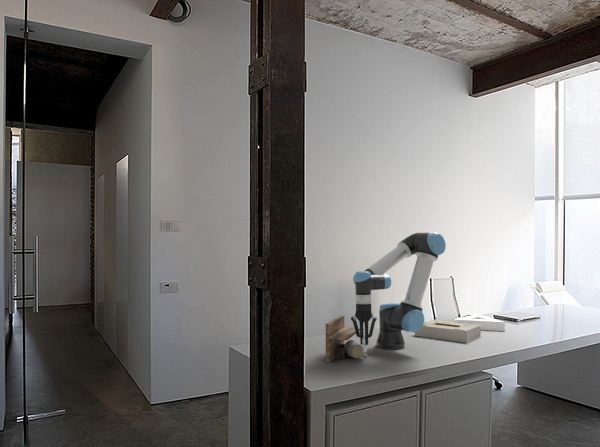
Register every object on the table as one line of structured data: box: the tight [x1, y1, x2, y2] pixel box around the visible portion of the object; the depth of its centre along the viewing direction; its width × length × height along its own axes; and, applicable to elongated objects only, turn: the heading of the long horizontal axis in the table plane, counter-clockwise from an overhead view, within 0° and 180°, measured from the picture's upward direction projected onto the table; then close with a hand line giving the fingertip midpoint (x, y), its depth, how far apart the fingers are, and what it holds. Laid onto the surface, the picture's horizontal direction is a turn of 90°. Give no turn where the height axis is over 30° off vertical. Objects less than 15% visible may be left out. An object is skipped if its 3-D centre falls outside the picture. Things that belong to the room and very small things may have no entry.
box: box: [414, 319, 482, 344], centre depth 287 cm, size 23×8×32 cm
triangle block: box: [453, 313, 506, 332], centre depth 317 cm, size 30×26×6 cm
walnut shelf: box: [325, 314, 360, 363], centre depth 238 cm, size 10×26×18 cm, turn 159°
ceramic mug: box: [344, 339, 368, 359], centre depth 238 cm, size 11×8×8 cm
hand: (364, 351), depth 234 cm, fingers closed
